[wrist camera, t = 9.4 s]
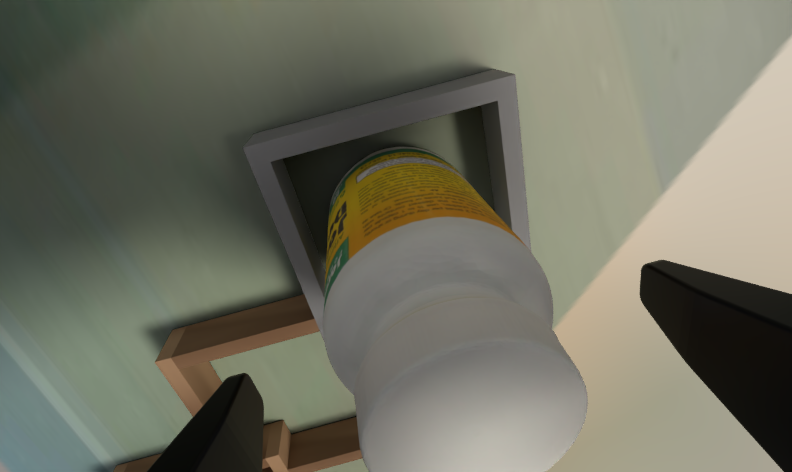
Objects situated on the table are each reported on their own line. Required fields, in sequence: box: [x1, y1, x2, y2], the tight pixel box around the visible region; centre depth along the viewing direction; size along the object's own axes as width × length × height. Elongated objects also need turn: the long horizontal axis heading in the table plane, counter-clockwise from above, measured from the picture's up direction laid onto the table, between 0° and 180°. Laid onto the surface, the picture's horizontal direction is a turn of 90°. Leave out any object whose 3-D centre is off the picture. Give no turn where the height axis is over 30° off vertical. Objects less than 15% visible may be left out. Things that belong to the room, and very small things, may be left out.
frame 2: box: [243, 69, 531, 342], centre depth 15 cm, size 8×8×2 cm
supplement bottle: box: [323, 147, 588, 472], centre depth 11 cm, size 5×5×10 cm
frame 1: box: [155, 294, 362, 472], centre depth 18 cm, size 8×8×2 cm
